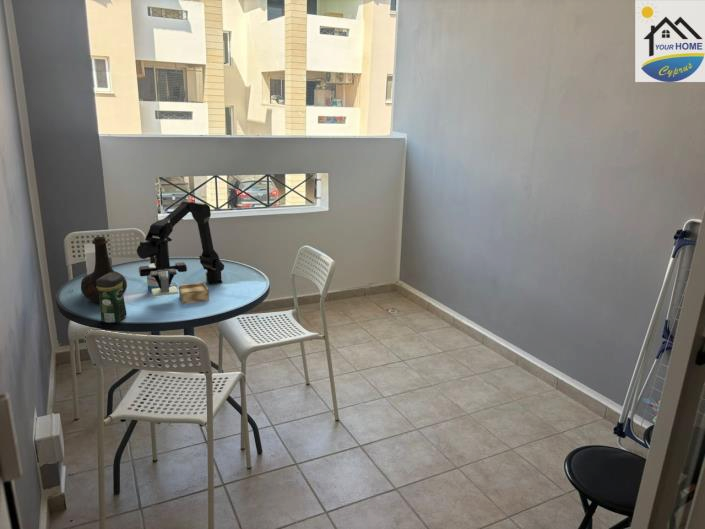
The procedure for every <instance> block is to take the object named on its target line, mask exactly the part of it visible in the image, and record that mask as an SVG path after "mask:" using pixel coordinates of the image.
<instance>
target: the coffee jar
mask: <svg viewBox="0 0 705 529" xmlns="http://www.w3.org/2000/svg"><path fill="white" fill-rule="evenodd" d="M119 273H120V272H118V273H108V274H106V275H104V276H102V277H100V278H99V279H97V280H96V282H97V289H98V292H99V298H100V303H99V305H100V306H99V310H100V320H101V322H103V323H105V324H114V323H118V322H121V321H122V320H123V319H125V318H126V317H127V314H128V313H127V308H126V304H125V296H124V294H123V290H122V277H121V275H120V274H121V273H120V274H119Z"/></svg>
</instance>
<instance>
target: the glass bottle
mask: <svg viewBox="0 0 705 529" xmlns="http://www.w3.org/2000/svg"><path fill="white" fill-rule="evenodd" d="M108 243H109V240H106V237H105V236H95V237H94V238H93V240H92V242H91V244H95V269H94V272H93V273H91V274H89V275H88V274H87V275H86V276H84V277H83V278H82V279H81V281H80V283H81V284H80V291H81V293H82V295H83V296H84V297H85V298H86V299H87V300H89V301H91V302H92V303H98V304H100V298H99V292H98V289H97V282H96V280H97V279H99V278H100V277H102V276H104V275H106V274H108V273H119V274H120V275H121V277H122V290H123V295H124V294H125V293H126V291H127V287H128V282H127V279H126V277H125V276H124V275H123V274H122V273H120V272H117V271H115V270H114V269H113V267H112V264H111V262H110V261H111V260H110V257H109V253H108V247H107V244H108Z"/></svg>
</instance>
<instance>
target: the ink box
mask: <svg viewBox="0 0 705 529" xmlns="http://www.w3.org/2000/svg"><path fill="white" fill-rule="evenodd" d="M147 266H149V268H155V267H156V266H155V264H154V263H152V264H150V263H149V264H148V265H147ZM158 270H159V269H158ZM158 275H159V277H161V276H167V271H160V272H158ZM146 280H147V291H148V292H152V290H151V289H156V288H160V287H159V285H158V283H157V281H156V279H155V278H154V277H151V275H149V276H146Z"/></svg>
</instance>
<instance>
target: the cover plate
mask: <svg viewBox="0 0 705 529" xmlns="http://www.w3.org/2000/svg"><path fill="white" fill-rule="evenodd" d="M159 279H160V284H161V289H160V288H156V289H151V290H152V291H151V293H152V296H153V297H154V298H155V297H161V296H169V295H170V296H172V295H177V294H179V289H177V287H176V286H175V285H173V286H170V287H169V281H168V275H166V276H161V277H159Z"/></svg>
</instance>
